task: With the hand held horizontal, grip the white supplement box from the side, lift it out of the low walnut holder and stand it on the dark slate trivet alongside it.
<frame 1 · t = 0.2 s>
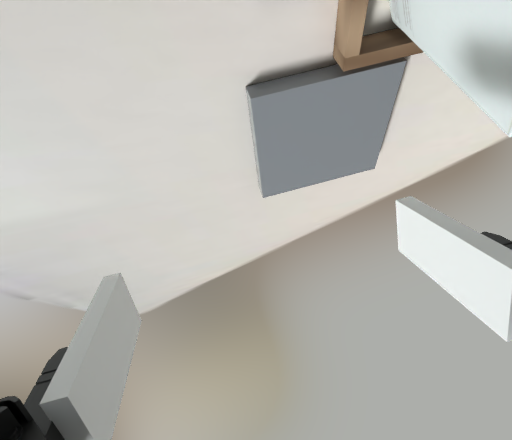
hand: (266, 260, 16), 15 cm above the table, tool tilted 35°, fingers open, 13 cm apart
slate trivet: (317, 128, 31), on the table
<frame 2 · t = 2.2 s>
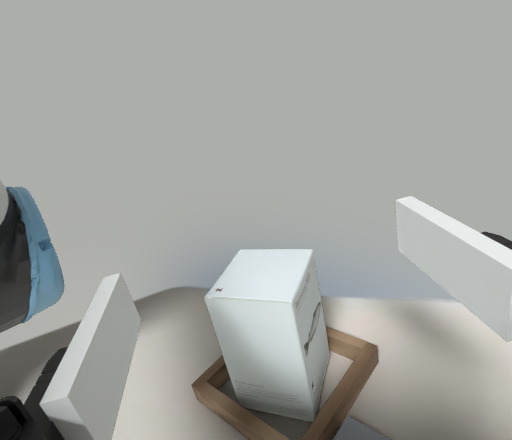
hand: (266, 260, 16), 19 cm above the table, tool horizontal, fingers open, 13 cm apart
walnut holder: (287, 380, 33), on the table
supplement box: (287, 382, 33), resting in walnut holder
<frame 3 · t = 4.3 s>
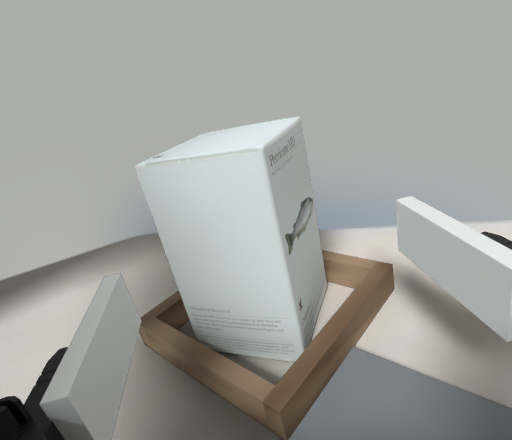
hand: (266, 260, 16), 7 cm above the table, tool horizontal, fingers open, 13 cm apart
walnut holder: (268, 316, 24), on the table
supplement box: (269, 319, 24), resting in walnut holder
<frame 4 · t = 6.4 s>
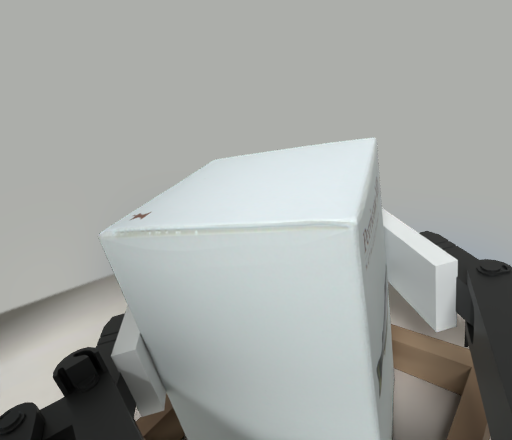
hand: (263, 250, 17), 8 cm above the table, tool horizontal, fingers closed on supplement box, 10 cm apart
walnut holder: (312, 432, 16), on the table
supplement box: (312, 434, 16), resting in walnut holder, touching gripper
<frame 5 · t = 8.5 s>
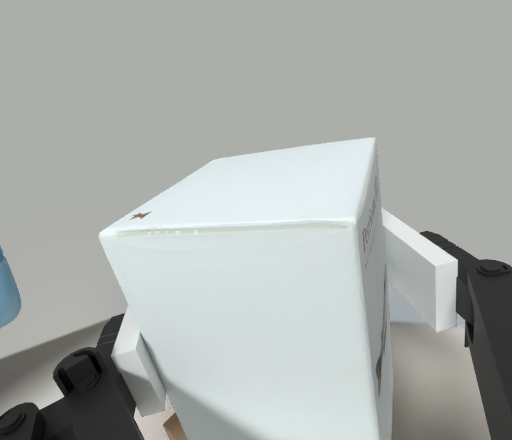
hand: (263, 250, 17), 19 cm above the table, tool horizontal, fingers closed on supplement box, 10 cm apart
walnut holder: (272, 420, 29), on the table
supplement box: (312, 434, 16), point 11 cm above the table, touching gripper
when the fingers open (10 cm above the table, at t = 10.8 s): supplement box drops 1 cm, resting on slate trivet.
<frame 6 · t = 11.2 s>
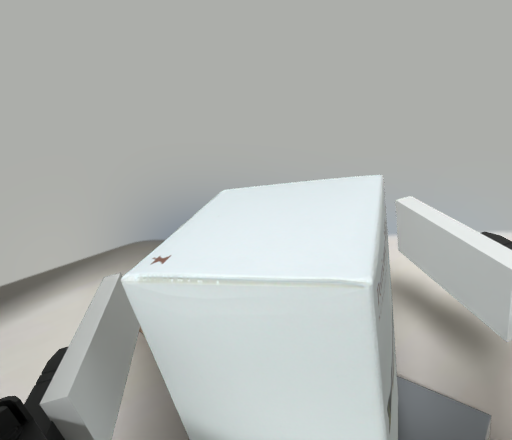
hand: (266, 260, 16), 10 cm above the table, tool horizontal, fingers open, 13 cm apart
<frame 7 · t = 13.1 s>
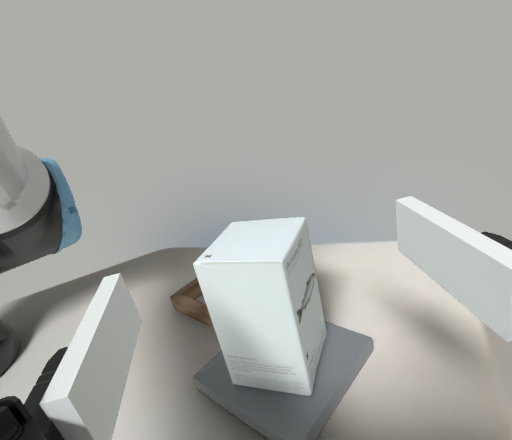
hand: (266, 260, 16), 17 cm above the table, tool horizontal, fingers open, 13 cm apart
walnut holder: (239, 294, 45), on the table
slate trivet: (284, 369, 32), on the table
supplement box: (283, 359, 32), point 1 cm above the table, touching slate trivet
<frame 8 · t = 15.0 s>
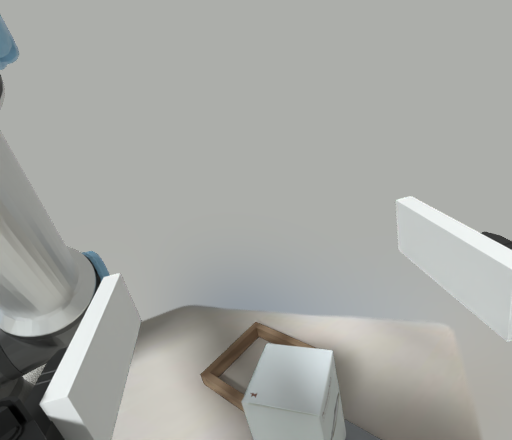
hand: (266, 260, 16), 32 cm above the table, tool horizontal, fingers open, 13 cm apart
walnut holder: (262, 371, 51), on the table
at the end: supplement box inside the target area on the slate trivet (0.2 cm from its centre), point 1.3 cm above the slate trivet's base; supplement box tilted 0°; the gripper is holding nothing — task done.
